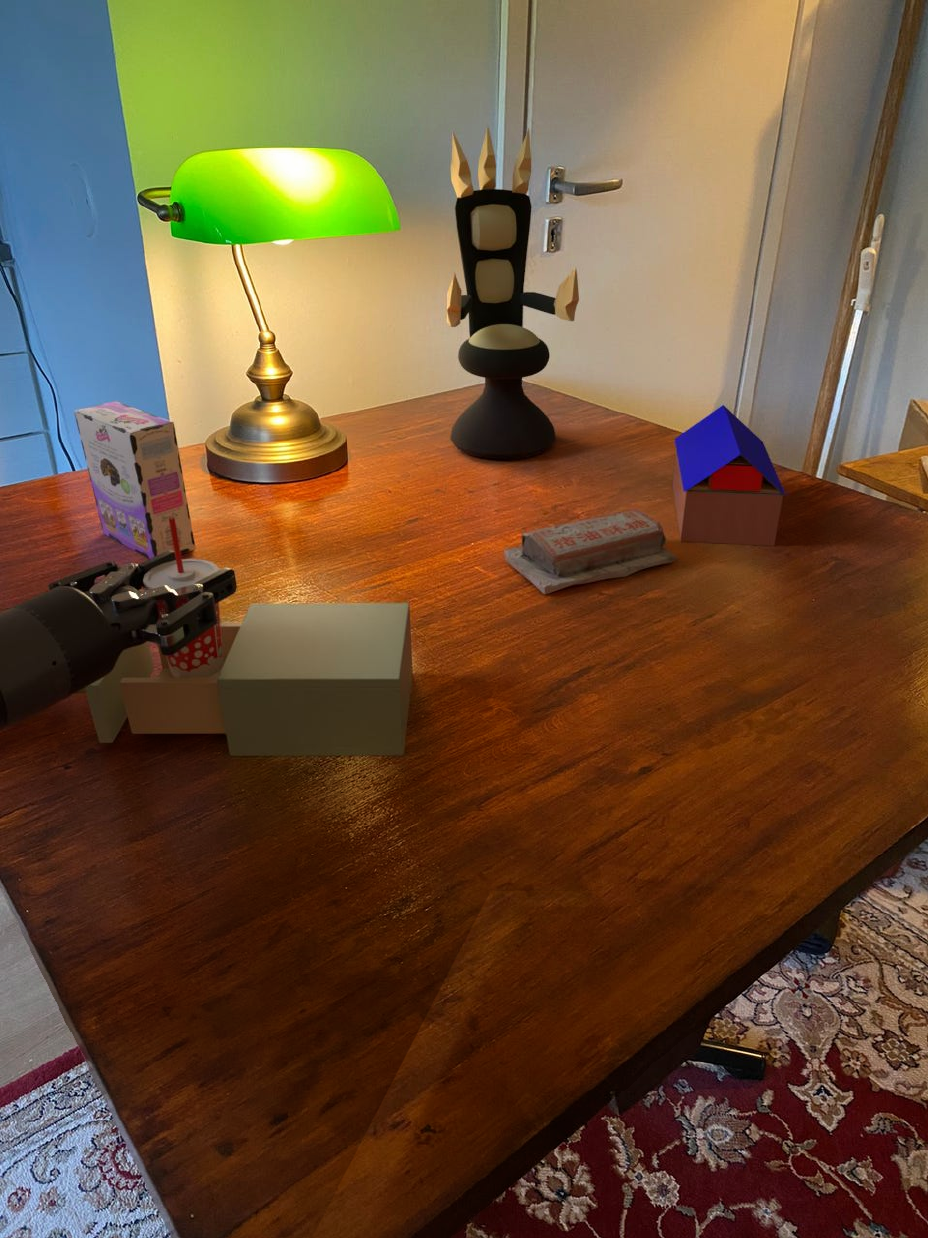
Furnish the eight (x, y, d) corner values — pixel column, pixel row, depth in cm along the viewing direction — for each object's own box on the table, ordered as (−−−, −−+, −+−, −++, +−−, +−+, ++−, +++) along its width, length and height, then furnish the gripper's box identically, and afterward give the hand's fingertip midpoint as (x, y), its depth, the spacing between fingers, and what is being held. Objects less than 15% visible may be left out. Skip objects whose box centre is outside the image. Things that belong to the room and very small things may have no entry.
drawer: (50, 743, 77) (32, 685, 74) (98, 669, 87) (85, 615, 84) (258, 742, 77) (249, 685, 74) (283, 668, 87) (276, 615, 84)
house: (755, 487, 129) (768, 406, 123) (777, 547, 112) (793, 456, 106) (669, 483, 130) (678, 403, 124) (678, 542, 113) (688, 452, 107)
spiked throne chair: (453, 469, 136) (447, 128, 114) (428, 424, 155) (418, 125, 133) (573, 459, 139) (590, 125, 117) (534, 416, 158) (543, 122, 136)
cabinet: (229, 756, 77) (216, 679, 73) (260, 673, 88) (250, 603, 84) (403, 755, 77) (399, 678, 73) (412, 672, 88) (409, 602, 84)
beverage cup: (190, 642, 83) (165, 499, 77) (246, 655, 81) (226, 510, 74) (146, 676, 78) (115, 526, 72) (204, 691, 76) (178, 538, 70)
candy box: (198, 550, 113) (176, 420, 105) (155, 565, 109) (129, 432, 101) (141, 519, 121) (116, 397, 113) (100, 533, 117) (71, 408, 109)
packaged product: (630, 498, 113) (680, 527, 105) (627, 533, 115) (675, 565, 108) (502, 524, 106) (545, 558, 99) (502, 562, 109) (543, 597, 101)
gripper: (86, 637, 60) (261, 547, 72) (-43, 587, 67) (138, 512, 79) (109, 730, 64) (272, 628, 76) (-16, 673, 70) (153, 588, 83)
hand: (203, 569), depth 78 cm, fingers closed on beverage cup, 6 cm apart
